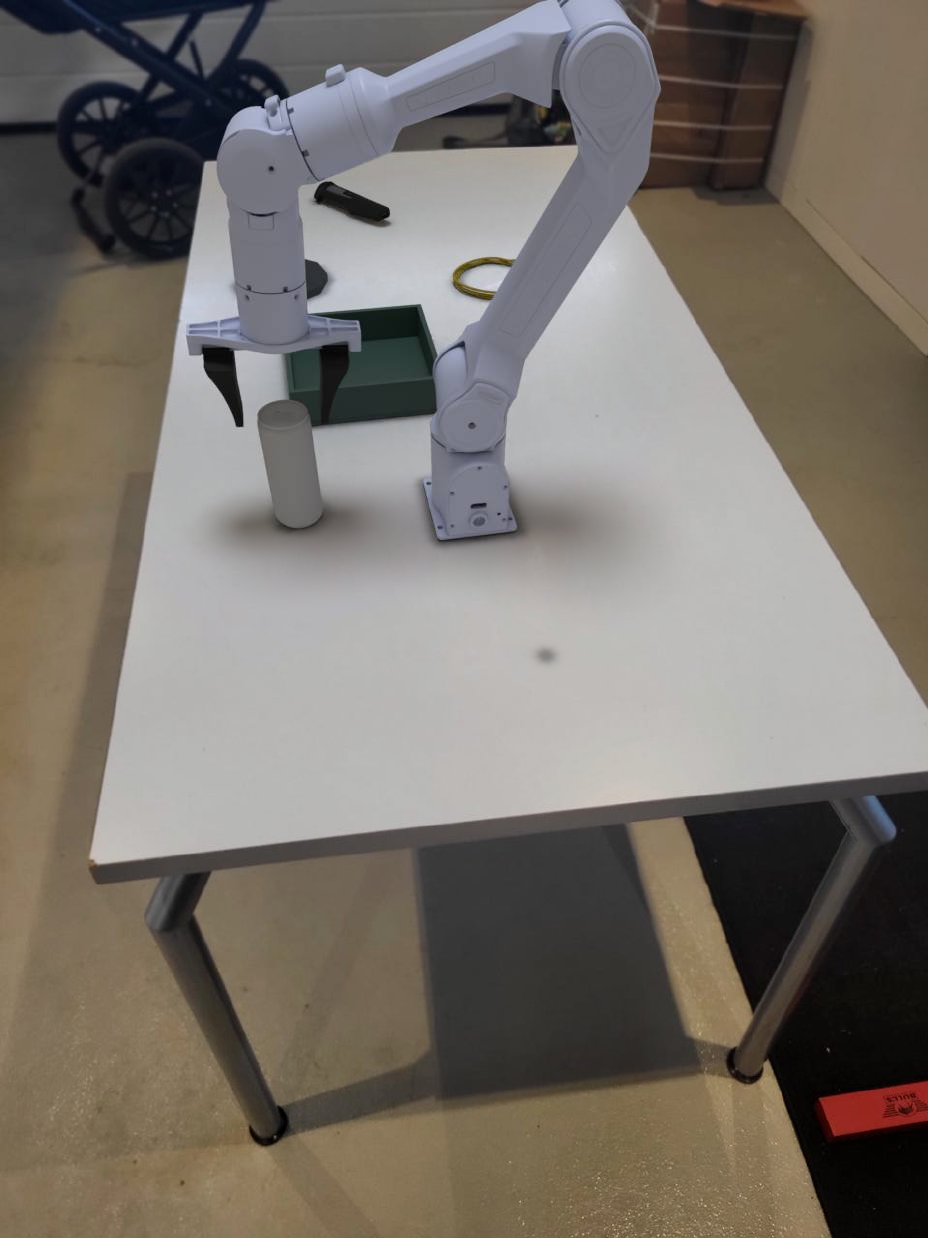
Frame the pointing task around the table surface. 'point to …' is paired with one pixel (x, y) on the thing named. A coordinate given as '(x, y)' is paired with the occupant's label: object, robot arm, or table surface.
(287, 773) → the table surface
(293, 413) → the beverage can
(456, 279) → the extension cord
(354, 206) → the electric trimmer
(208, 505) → the table surface
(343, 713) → the table surface
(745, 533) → the table surface
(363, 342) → the open storage bin
